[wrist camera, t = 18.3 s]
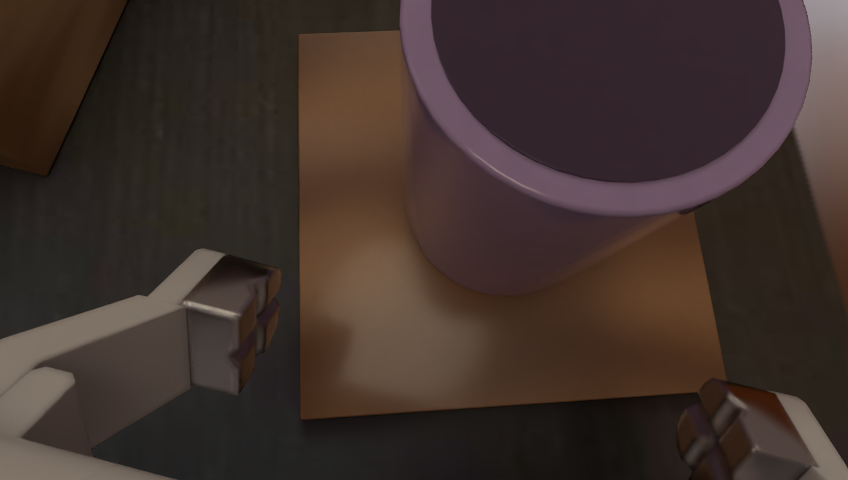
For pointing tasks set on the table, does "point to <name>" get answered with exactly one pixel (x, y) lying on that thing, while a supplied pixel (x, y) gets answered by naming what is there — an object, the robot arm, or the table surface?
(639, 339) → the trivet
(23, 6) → the block
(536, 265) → the lavender cup
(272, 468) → the table surface
